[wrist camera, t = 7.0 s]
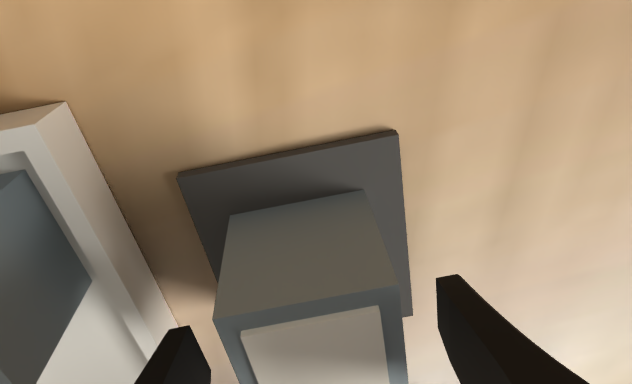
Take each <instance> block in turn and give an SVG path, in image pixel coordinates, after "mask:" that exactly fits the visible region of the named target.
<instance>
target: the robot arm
mask: <svg viewBox="0 0 632 384" xmlns="http://www.w3.org/2000/svg"><path fill="white" fill-rule="evenodd" d="M436 291H437V317H438V329H439V332H440V335H441V338H442V340H443V343H444V346H445V349H446V352H447V354H448V357H449V360H450V362H451V364H452V367H453V369H454V371H455V373H456V375H457V377H458V379H459V381H460V383H461V384H589V383H588V382H586V381H585V380H584V379H582V378H581V377H579V376H578V375H576V374H575V373H573V372H572V371H571V370H569V369H568V368H566V367H565V366H564V365H562V364H561V363H559V362H558V361H557V360H555V359H554V358H553V357H551V356H550V355H549V354H547V353H546V352H545V351H544V350H542V349H541V348H540V347H539V346H537V345H536V344H535V343H533V342H532V341H531V340H530V339H529V338H527V337H526V336H525V335H524V334H522V333H521V332H520V331H519V330H518V329H517V328H515V327H514V326H513V325H512V324H511V323H510V322H508V321H507V320H506V319H505V318H504V317H503V316H502V315H500V314H499V313H498V312H497V311H496V310H495V309H494V308H493V307H492V306H491V305H490V304H488V303H487V302H486V301H485V300H484V299H483V298H482V297H481V296H480V295H479V294H478V293H477V292H476V291H475V290H474V289H473V288H472V287H471V286H470V285H469V284H468V283H467V282H466V281H465V280H464V279H463V278H462V277H461V276H459V275H458V274H455V275H450V276H444V277H439V278H436ZM210 383H211V369H210V367H209V365H208V363H207V361H206V359H205V357H204V355H203V352H202V350H201V348H200V346H199V344H198V342H197V340H196V338H195V336H194V334H193V332H192V330H191V327H190V325H189V326H183V327H178V328H173V329H169V330H168V331H167V333H166V334H165V336H164V337H163V339H162V340H161V342H160V344H159V345H158V347H157V348H156V350H155V351H154V353H153V355H152V356H151V358H150V359H149V361H148V363H147V364H146V366H145V367H144V369H143V370H142V372H141V373H140V375H139V377H138V378H137V380H136V381H135V383H134V384H210Z"/></svg>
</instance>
